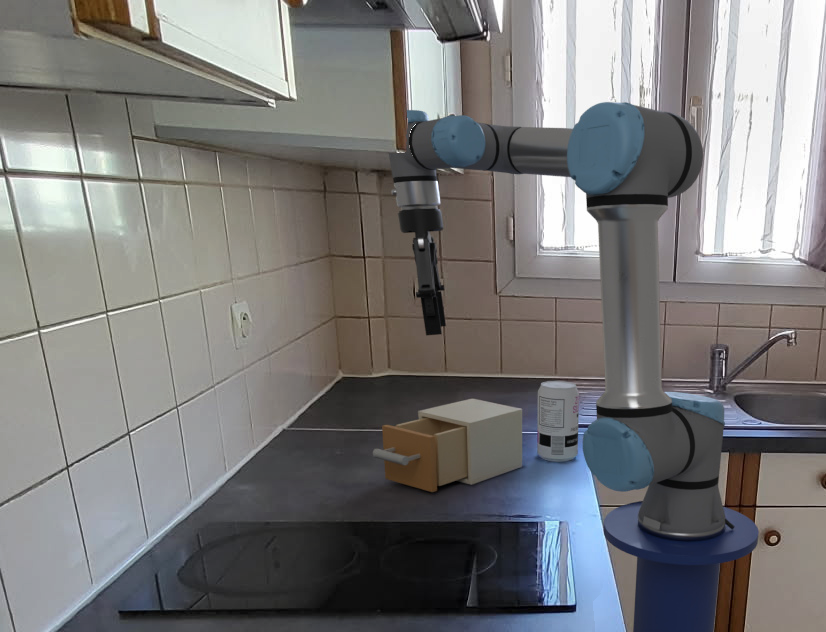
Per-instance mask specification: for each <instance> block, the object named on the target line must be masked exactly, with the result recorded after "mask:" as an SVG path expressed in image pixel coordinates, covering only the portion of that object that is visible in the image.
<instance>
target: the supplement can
mask: <svg viewBox="0 0 826 632" xmlns="http://www.w3.org/2000/svg"><path fill="white" fill-rule="evenodd" d="M579 412H580V391H579V389H578V386H577V384H576V383H574V382H570V381H565V380H547V381H543V382H541V383H540V386H539V388H538V390H537V419H536V420H537V422H536V423H537V426H536V427H537V430H536V432H537V433H536V435H537V437H536V440H537V442H536V454H537V455H538V456H539V457H540V458H541V459H542V460H545V461H548V462H556V463H557V462H558V463H559V462H569V461H572V460H573V459H575V457H577V456H578V454H579V453H578V452H579V417H580V416H579V415H580V413H579Z"/></svg>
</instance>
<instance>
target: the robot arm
mask: <svg viewBox="0 0 826 632" xmlns="http://www.w3.org/2000/svg"><path fill="white" fill-rule="evenodd" d="M406 110H407V118H408V129H407V134H406V138H407V143H406V144H407V145H406V146H407V147H406V149H407V151H406V152H405V153H389V152H388V157H389V163H390V170H391V177H392V180H393V181H392V182H393V187H394V188H393V189H391V191H390V192H391V195H392V196H395V202H396V206H397V207H398V208H400V210H399V211H398V213H397V216H398V223H399V230H400V232H401V233H403V234H410V233H411V234H412V233H413V234H414V237H413V238H412V252H413V254H414V255H413V256H414V261H415V265H416V275H417V284H418V289H417V291H415V297H416V299H419V298H420V303H421V310H422V317H423V324H424V331H425V336H438V335H443V332H442V327H446V326H447V323H446V322H447V321H446V317H445V316H446V315H445V309H444V301H443V295H442V292H444V291H445V289H446V288H445V284H442V281H441V279H440V273H439V267H438V254H437V253H438V247H437V242H435V239H434V237H433V236H432V235H431V232H442V231H443V230H444V220H443V212H442V210H441V209H440V208H439V207H438V206H440V205H441V195H440V188H439V182H438V177H437V170H442V169H461V170H473V171H486V172H496V173H504V174H509V175H510V174H511V175H535V176H536V175H537V176H548V177H549V176H550V177H551V176H552V177H560V178H571V179H572V180H573V181H574V184H575V186H576V187H577V188H578V189H580V190H581V192H583V193H585V200H586V212H587V213H588V214H589V215H590V216H591V217H592V218H593V219H594V220H595V221H596V223H597V231H598V232H597V233H598V254H599V255H598V256H599V274H600V275H599V277H600V299H601V320H602V321H601V322H602V324H601V325H602V343H603V344H602V345H603V365H604V367H603V368H604V388H605V389H604V391H603V393H602V394H601V395H600V396H599V398H598V399H596V401H595V407H596V408H595V409H596V419H594V421H592V422H591V423H590V424H589V425H588V427H587V429H586V430H585V431H584V434H583V437H582V453H583V458H584V461H585V464H586V466H587V469H588V470H589V471H590V473H591V474H592V475H593V476H595V478H596V479H597V481H598V482H599V483H600V484H601V485H603V486H604V487H606V488H607V489H609V490H612V491H614V492H620V493H621V492H622V493H623V492H630V491H635V490H638V491H639V490H642V489H645V488H647V490H646V492H645V494H644V497H643V499H642V501H643V502H642V504H641V507H640V509H639V513H638V526H639V527H640V528H641V529H642V530H643V531H645V532H646V533H648V534H650V535H653V536H655V537H659V538H663V539H667V540H674V541H703V540H709V539H712V538H715V537H718V536H719V535H721V534H722V533H723V532H724V530H725V524H726V525H727V526H728V527H730V528H731V529H733V528H734V527H735V526H734V525H732V524H731V523H730V522H729V521H728V520H727V519H726V518H725V513H724V509H723V507H724V505H723V500H722V498H721V493H720V488H719V482H720V472H721V470H720V469H721V460H722V448H723V440H724V430H725V429H724V428H725V426H726V422H725V406H724V404H723V402H721V401H720V400H718V399H716V398H713V397H709V396H705V395H700V394H694V393H686V392H679V391H664V389H663V383H662V381H663V380H662V378H663V377H662V346H661V345H662V342H661V341H662V338H661V301H660V298H661V297H660V294H661V293H660V262H659V261H660V260H659V259H660V258H659V257H660V256H659V253H660V252H659V220H660V219H661V218H662V217H663V215H664V214H665V213H666V212H667V211H668V210H669V198H674V197H678V196H680V195H682V194H684V193H685V192H687V191H688V190H689V189H690V188H691V187H692V186H693V185H694V183H695V182H696V181H697V179H698V178H699V176H700V173H701V170H702V167H703V163H704V148H703V145H702V139H701V138H700V136H699V133H698V131H697V130H696V129H695V127H694V126H693V125H692V124H691V123H690V121H688V120H687V119H685V118H684V117H683V116H681V115H678V114H677V113H673V112H668V111H662V110H657V109H653V108H648V107H645V106H640V105H636V104H632V103H630V102H626V101H624V102H616V101H615V102H614V101H613V102H612V101H603V102H599V103H595V104H593V105H592V106H590V107H589V108H587V109H586V110H585V111H584V112H583V113H582V114H581V115H580V117H579V120H578V122H576V123H575V124H574V126H573V127H541V126H538V127H536V126H534V127H533V126H510V125H509V126H508V125H497V124H489V123H485V122H484V123H483V122H478V121H475V119H474V118H472V117H471V116H468V115H464V114H463V115H462V114H460V115H453V114H451V115H446V116H444V117H440V118H436V119H430V117H429V114H428V113H427V112H425V111H423V110H418V109H406ZM415 124H416V125H415ZM414 125H415V126H414ZM413 126H414V127H413ZM412 127H413V128H412ZM411 129H412V130H411ZM410 131H411V133H410ZM409 134H410V137H409ZM409 145H410V148H409ZM410 150H411V151H410ZM411 153H412V154H411ZM412 155H413V156H412Z"/></svg>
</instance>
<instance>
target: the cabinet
mask: <svg viewBox="0 0 826 632" xmlns="http://www.w3.org/2000/svg"><path fill="white" fill-rule="evenodd" d="M417 415H418V419H422V418H426V417H428V418H432V419H437V420H441V421H445V422H450V423H454V424H458V425H463V426H467V452H468V477H465V478H462V479H459V480H456V482H460V483H463V484H466V485H471V486H473V485H475V484H477V483H480V482H483V481H487V480H490V479H492V478H494V477H498V476H501V475H503V474H506V473H509V472H511V471H514V470H517V469H519V468H522V467H523V408H519V407H515V406H510V405H505V404H500V403H495V402H490V401H487V400H481V399H477V398H468V399H465V400H461V401H460V400H459V401H455V402H451V403H447V404H441V405H438V406H433V407H430V408H426V409H422V410H421V409H420V410H418V411H417Z"/></svg>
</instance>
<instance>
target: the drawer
mask: <svg viewBox="0 0 826 632" xmlns="http://www.w3.org/2000/svg"><path fill="white" fill-rule="evenodd" d="M381 431H382V447H383V449H380V448H374V449H373V451H372V456H373V458H375V459H379V460H383V463H384V477H385V480H389V481H391V482H395V483H399V484H401V485H402V484H403V485H406V486H408V487H412V488H415V489H418V490H423V491H427V492H430V493H435V492H437V491H438V487H441V486H444V485H447V484H451V483H453V482H455V481H456V480H459V479H462V478H465V477H468V452H467V426H463V425H458V424H454V423H450V422H445V421H441V420H437V419H432V418H428V417H426V418H422V419H419V418H418V419H414V420H411V421H406V422H402V423H398V424H395V425H390V424H384V425H381ZM456 482H457V481H456Z"/></svg>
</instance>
